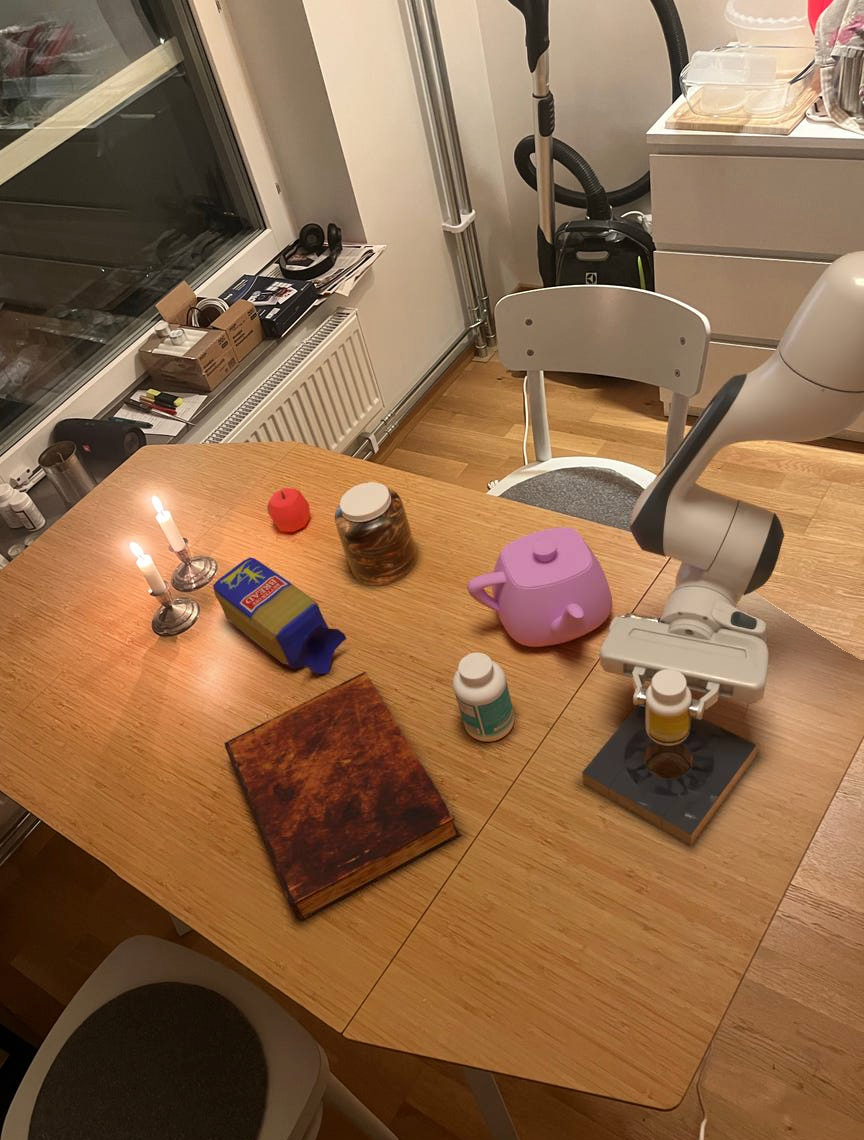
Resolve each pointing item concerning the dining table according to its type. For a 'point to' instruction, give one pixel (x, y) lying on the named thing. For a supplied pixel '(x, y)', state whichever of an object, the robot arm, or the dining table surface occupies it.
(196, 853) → the dining table surface
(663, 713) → the supplement bottle
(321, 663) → the bread
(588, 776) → the drain plate
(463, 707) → the pill bottle
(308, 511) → the apple
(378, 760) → the book
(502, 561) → the teapot
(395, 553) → the jar
